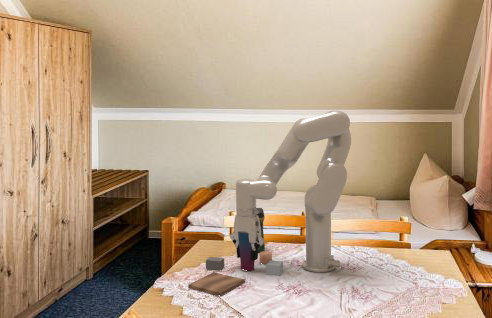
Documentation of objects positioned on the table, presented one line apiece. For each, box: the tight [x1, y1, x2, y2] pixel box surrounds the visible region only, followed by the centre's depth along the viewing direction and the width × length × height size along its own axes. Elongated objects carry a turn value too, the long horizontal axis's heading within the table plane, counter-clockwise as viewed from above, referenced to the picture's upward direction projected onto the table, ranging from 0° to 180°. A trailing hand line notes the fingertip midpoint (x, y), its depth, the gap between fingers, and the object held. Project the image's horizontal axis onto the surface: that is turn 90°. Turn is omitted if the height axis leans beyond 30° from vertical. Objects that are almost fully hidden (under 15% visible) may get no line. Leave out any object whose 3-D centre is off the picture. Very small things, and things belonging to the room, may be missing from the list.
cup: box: [238, 232, 255, 272], centre depth 179 cm, size 7×7×15 cm
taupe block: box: [205, 256, 225, 271], centre depth 180 cm, size 6×4×4 cm, turn 72°
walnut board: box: [187, 271, 246, 297], centre depth 164 cm, size 14×14×1 cm
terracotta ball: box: [258, 250, 273, 265], centre depth 186 cm, size 5×5×4 cm
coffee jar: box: [256, 207, 266, 253], centre depth 202 cm, size 10×8×19 cm
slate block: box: [265, 259, 284, 277], centre depth 175 cm, size 5×5×4 cm
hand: (247, 258), depth 179 cm, fingers closed on cup, 6 cm apart
